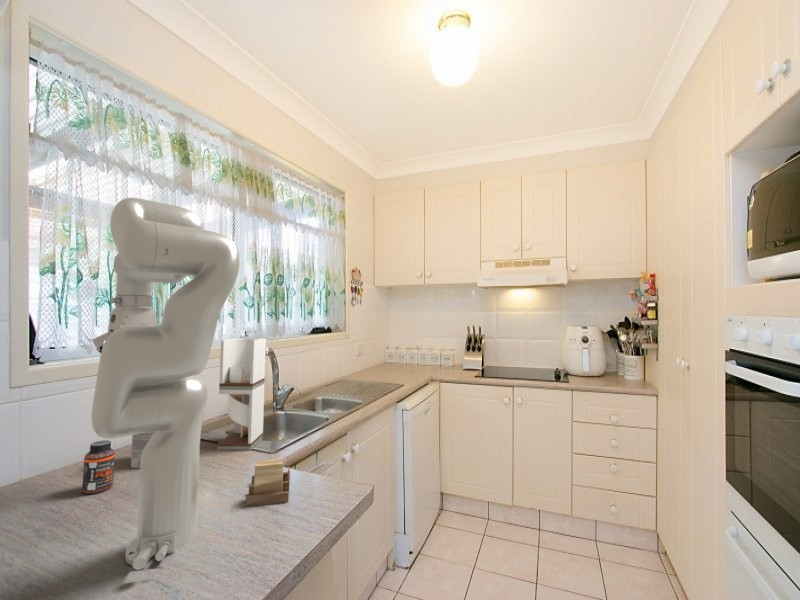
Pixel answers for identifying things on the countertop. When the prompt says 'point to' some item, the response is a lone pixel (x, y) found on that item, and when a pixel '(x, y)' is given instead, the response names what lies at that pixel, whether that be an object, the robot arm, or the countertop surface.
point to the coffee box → (139, 447)
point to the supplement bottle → (98, 467)
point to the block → (268, 476)
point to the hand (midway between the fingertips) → (131, 370)
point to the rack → (269, 497)
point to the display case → (243, 390)
